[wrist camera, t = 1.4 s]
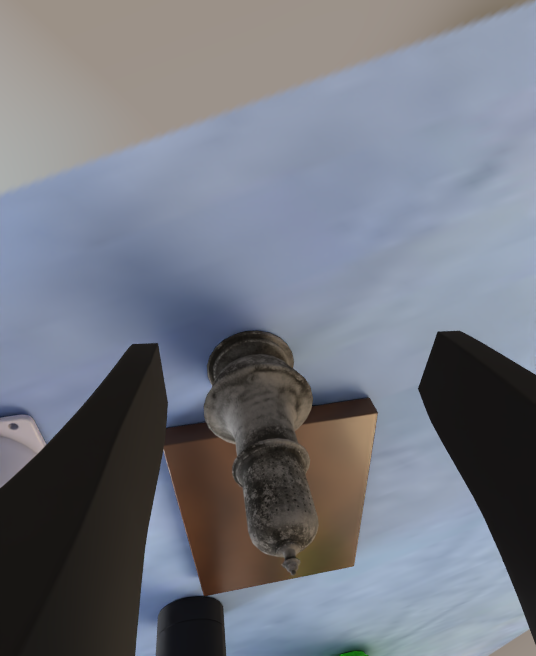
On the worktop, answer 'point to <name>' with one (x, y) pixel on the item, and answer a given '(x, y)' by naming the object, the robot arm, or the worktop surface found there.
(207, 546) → the cutting board
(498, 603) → the worktop surface
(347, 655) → the plastic bottle
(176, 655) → the black bottle
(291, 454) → the grey stone baluster
